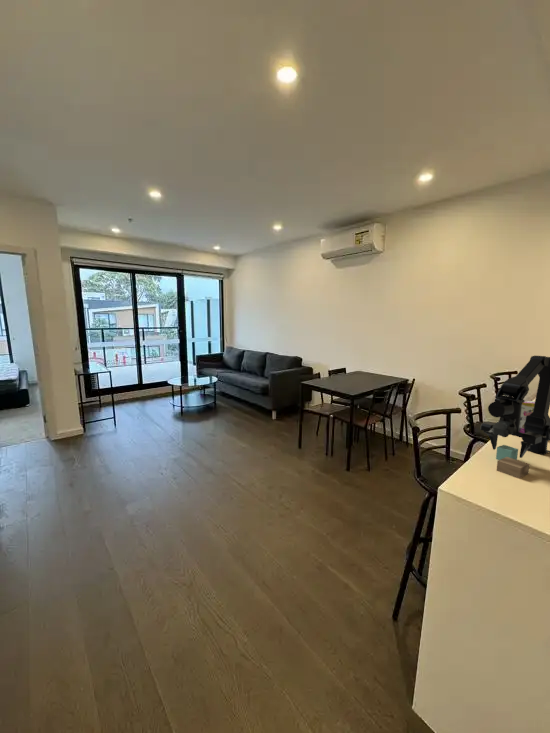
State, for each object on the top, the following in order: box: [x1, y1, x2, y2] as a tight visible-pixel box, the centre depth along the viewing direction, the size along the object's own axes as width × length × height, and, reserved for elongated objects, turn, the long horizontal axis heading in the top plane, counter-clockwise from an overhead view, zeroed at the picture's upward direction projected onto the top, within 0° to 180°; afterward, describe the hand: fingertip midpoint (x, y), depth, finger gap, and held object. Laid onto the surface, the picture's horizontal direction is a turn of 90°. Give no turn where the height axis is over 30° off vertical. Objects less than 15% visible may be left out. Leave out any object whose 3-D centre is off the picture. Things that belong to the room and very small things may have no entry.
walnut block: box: [496, 457, 530, 479], centre depth 113 cm, size 7×7×4 cm
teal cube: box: [495, 444, 519, 461], centre depth 124 cm, size 5×5×5 cm
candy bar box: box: [519, 400, 535, 433], centre depth 153 cm, size 11×5×16 cm, turn 78°
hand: (507, 453), depth 124 cm, fingers open, 9 cm apart
